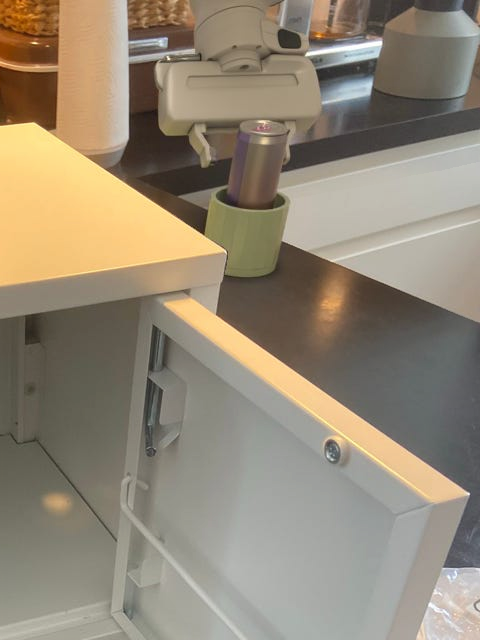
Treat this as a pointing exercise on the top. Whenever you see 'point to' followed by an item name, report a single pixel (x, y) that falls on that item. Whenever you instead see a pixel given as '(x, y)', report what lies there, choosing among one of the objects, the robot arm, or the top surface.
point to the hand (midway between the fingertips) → (246, 164)
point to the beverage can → (256, 165)
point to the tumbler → (247, 234)
